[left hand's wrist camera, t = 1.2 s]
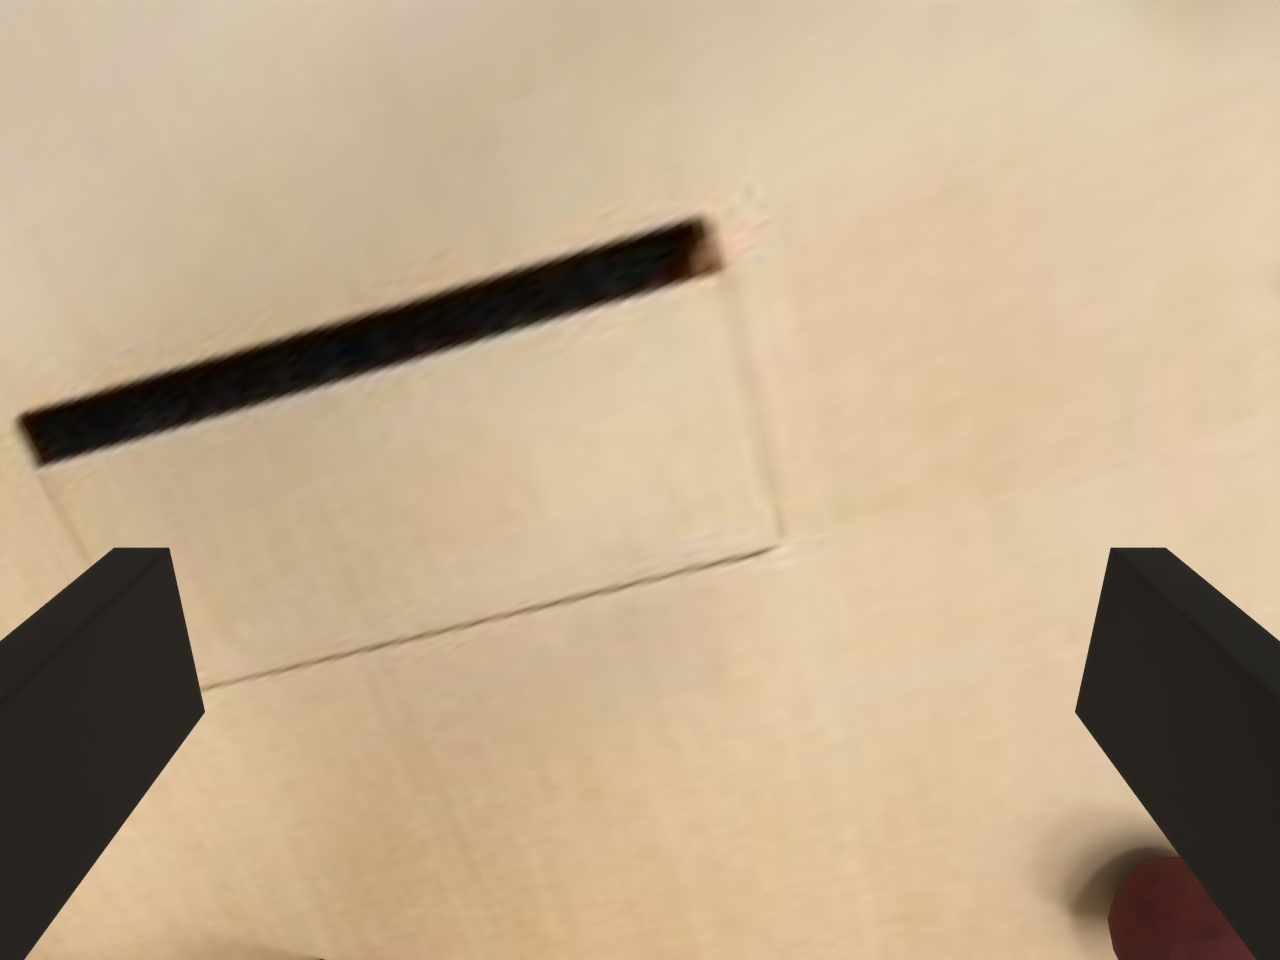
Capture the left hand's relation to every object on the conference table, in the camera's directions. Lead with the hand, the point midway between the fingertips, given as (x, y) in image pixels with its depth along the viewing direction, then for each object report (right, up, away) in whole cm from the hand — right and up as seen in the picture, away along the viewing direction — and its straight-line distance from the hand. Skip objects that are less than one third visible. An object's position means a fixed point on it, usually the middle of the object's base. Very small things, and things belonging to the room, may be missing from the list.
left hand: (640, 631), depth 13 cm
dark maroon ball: (+29, -20, +38) cm, 52 cm away
